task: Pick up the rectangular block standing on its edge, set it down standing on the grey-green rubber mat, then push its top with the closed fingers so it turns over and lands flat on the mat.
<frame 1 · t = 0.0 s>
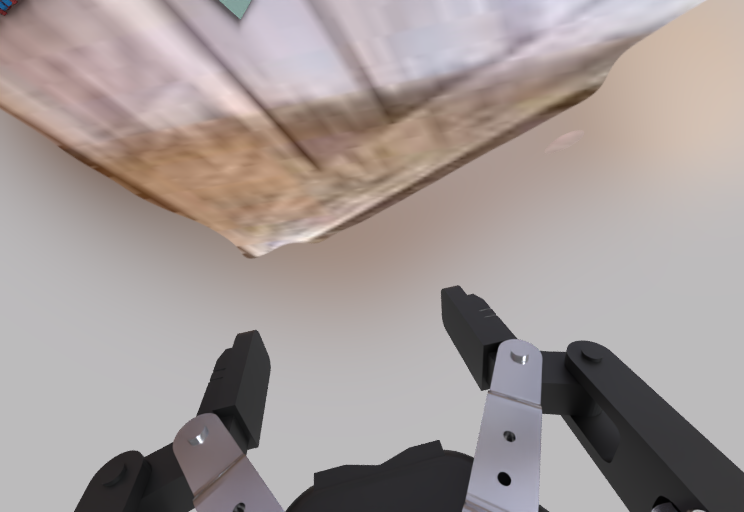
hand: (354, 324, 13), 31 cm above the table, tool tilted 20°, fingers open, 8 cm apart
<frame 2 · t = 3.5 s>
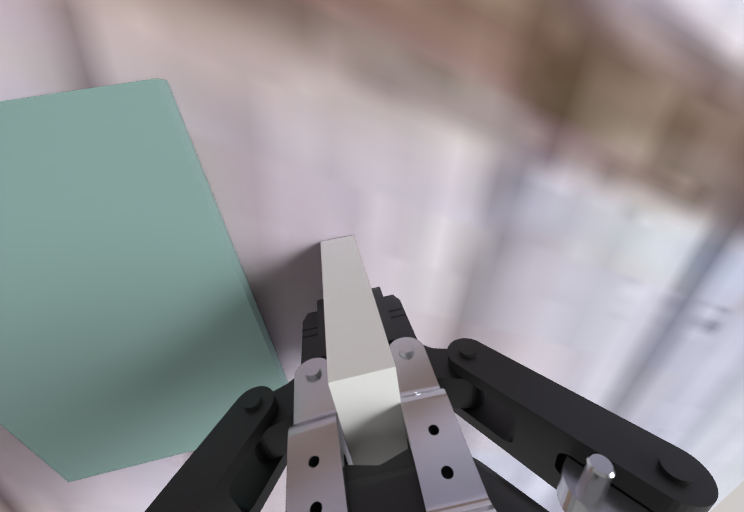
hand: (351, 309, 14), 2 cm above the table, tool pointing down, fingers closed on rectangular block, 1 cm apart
rectangular block: (348, 291, 15), on the table, touching gripper
mat: (110, 324, 14), on the table
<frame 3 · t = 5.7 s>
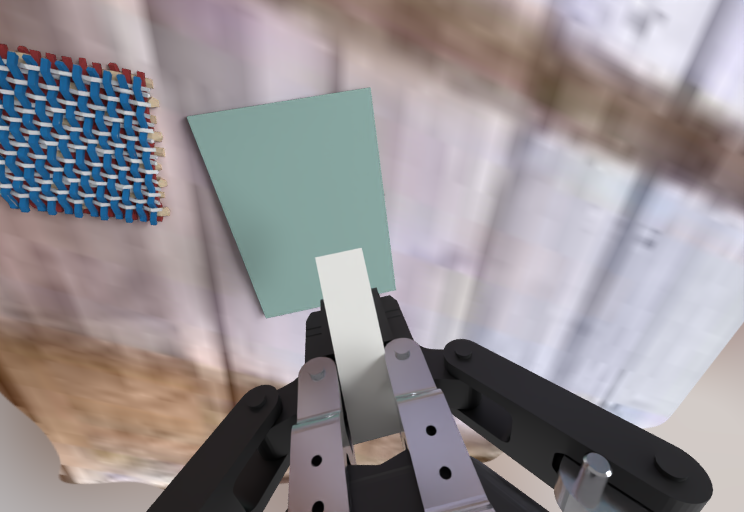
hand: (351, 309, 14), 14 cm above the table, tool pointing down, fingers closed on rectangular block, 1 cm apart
rectangular block: (355, 323, 18), point 12 cm above the table, tilted 36°, touching gripper
woven mat: (89, 140, 22), on the table
mat: (310, 216, 26), on the table
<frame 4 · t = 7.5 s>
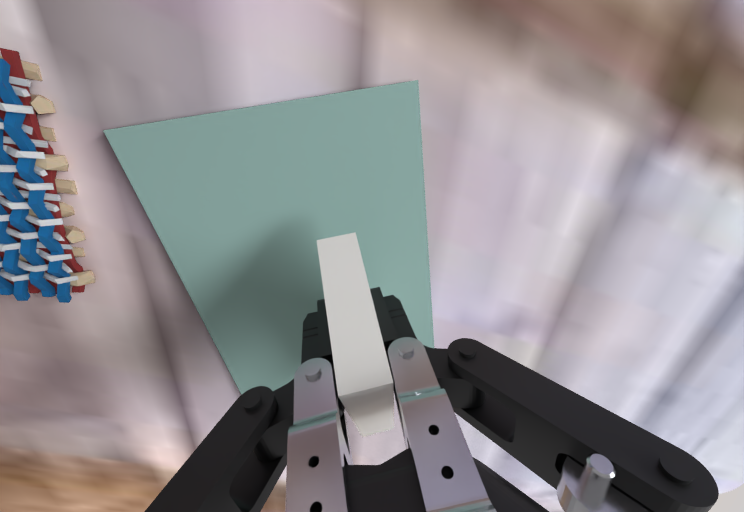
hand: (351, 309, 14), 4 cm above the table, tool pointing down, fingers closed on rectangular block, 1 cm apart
rectangular block: (366, 372, 17), point 4 cm above the table, tilted 66°, touching gripper, mat
mat: (316, 276, 18), on the table
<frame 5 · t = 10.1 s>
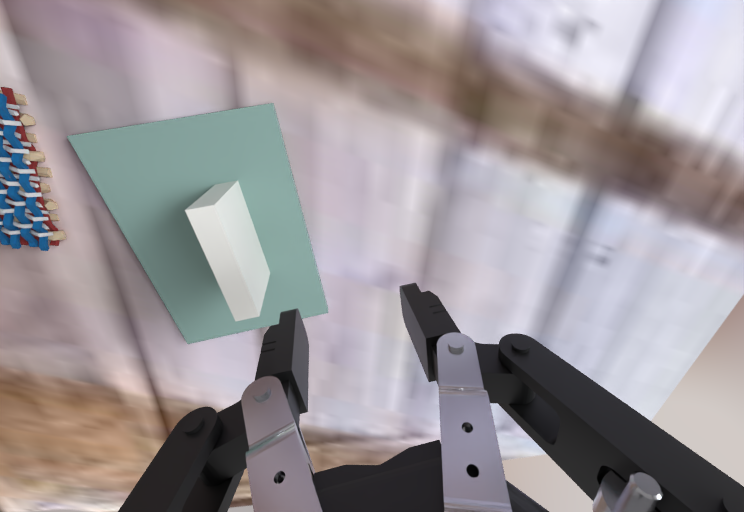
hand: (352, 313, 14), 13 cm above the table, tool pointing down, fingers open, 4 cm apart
rectangular block: (254, 294, 23), point 4 cm above the table, tilted 90°, touching mat
mat: (226, 238, 25), on the table
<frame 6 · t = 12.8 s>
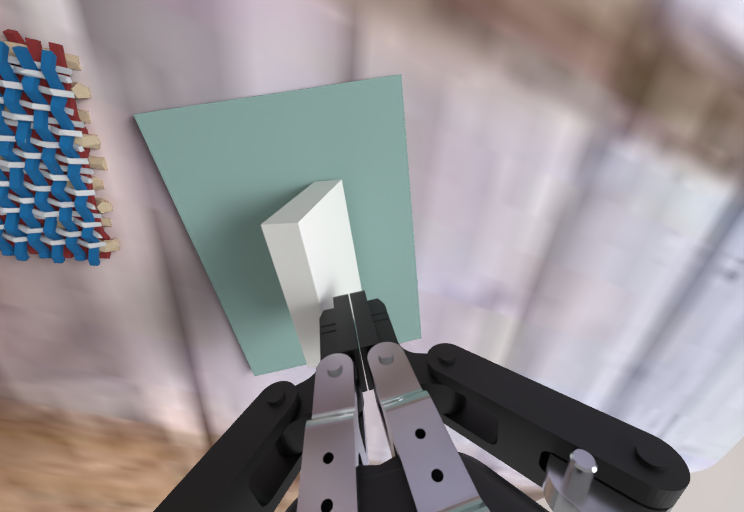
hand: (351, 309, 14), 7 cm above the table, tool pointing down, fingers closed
rectangular block: (338, 327, 18), point 4 cm above the table, tilted 90°, touching mat
mat: (313, 249, 20), on the table
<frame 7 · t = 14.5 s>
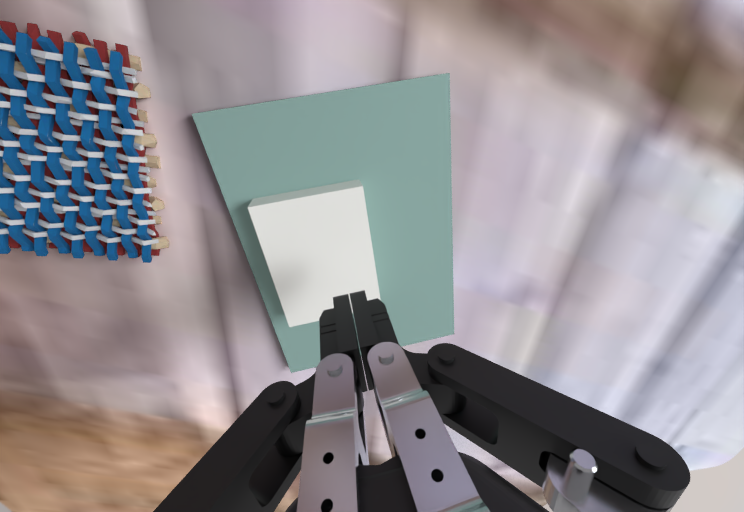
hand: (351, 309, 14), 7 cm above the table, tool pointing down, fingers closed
rectangular block: (335, 309, 20), point 2 cm above the table, tilted 90°, touching mat
woven mat: (53, 147, 15), on the table
mat: (353, 246, 20), on the table
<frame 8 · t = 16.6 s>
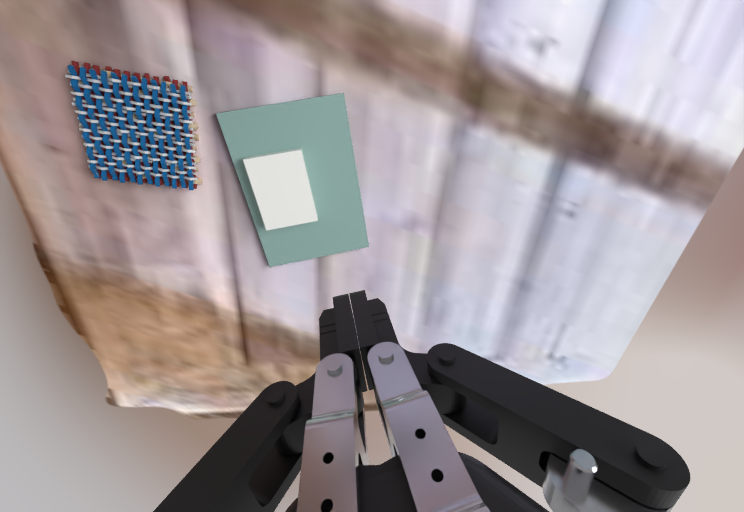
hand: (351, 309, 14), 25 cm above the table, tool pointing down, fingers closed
rectangular block: (292, 223, 36), point 2 cm above the table, tilted 90°, touching mat
woven mat: (146, 130, 31), on the table
mat: (303, 187, 36), on the table
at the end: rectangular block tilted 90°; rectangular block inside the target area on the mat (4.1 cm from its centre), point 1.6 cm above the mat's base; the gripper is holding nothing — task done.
